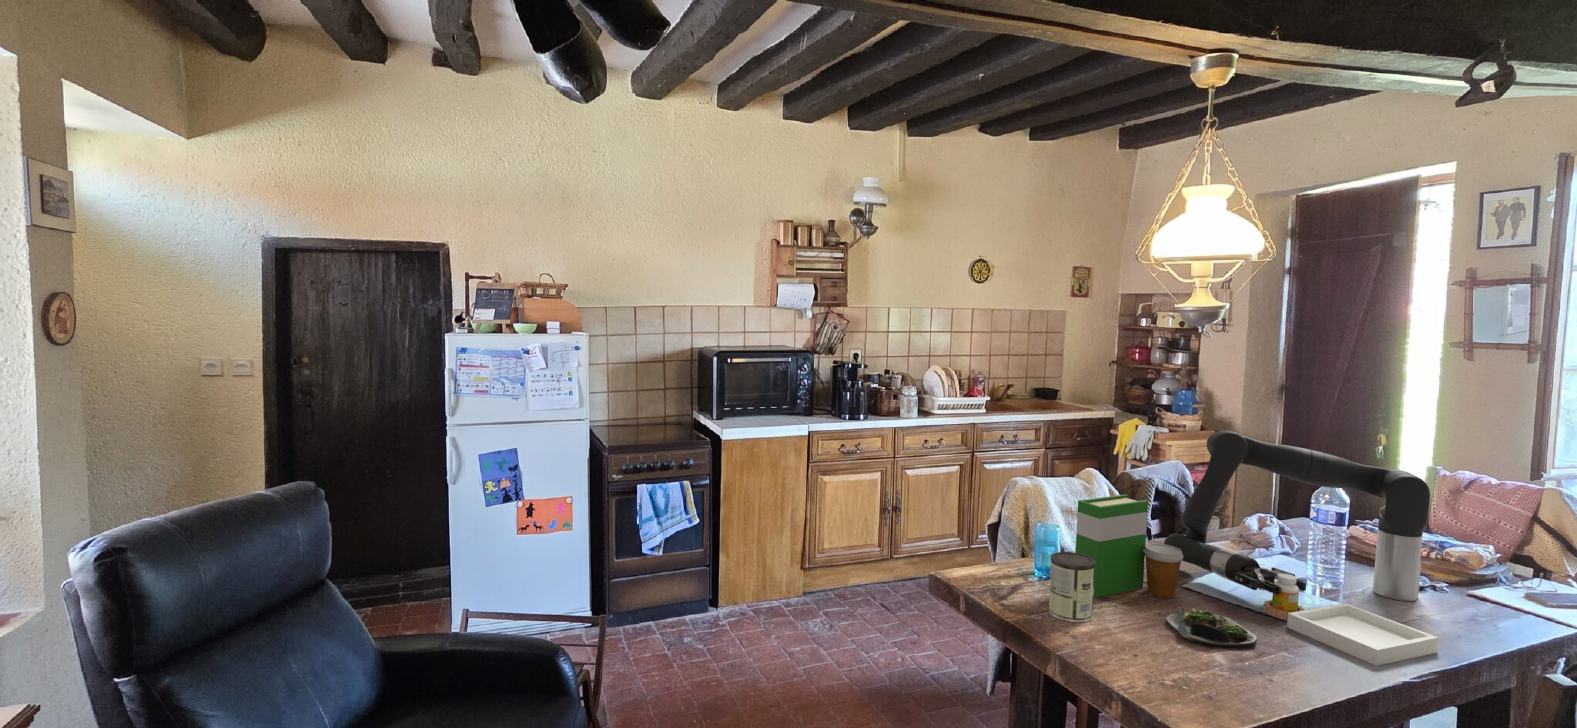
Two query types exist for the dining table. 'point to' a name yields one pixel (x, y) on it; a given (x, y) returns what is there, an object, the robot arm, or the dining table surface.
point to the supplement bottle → (1286, 593)
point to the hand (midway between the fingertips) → (1292, 588)
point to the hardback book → (1113, 541)
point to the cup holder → (1276, 612)
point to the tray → (1363, 633)
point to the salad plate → (1211, 630)
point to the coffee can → (1071, 587)
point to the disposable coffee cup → (1162, 568)
